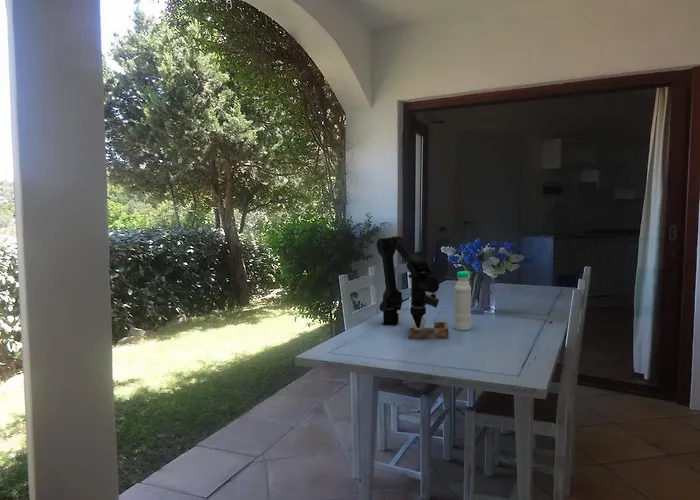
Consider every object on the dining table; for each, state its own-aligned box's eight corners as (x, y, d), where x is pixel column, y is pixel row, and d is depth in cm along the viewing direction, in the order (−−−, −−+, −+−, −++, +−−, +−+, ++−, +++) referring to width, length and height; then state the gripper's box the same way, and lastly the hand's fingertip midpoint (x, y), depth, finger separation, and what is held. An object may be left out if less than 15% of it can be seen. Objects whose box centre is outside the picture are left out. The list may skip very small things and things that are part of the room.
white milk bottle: (471, 327, 216) (471, 270, 213) (470, 331, 209) (470, 273, 207) (455, 326, 218) (455, 270, 215) (453, 330, 211) (453, 272, 209)
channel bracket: (408, 338, 200) (408, 329, 200) (409, 329, 214) (409, 321, 213) (448, 339, 198) (448, 329, 197) (446, 330, 211) (446, 321, 211)
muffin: (422, 332, 202) (422, 315, 201) (408, 330, 205) (408, 313, 205) (428, 328, 207) (428, 312, 207) (414, 326, 211) (414, 310, 210)
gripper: (438, 293, 194) (438, 332, 196) (437, 285, 213) (437, 320, 214) (410, 293, 196) (410, 331, 197) (411, 285, 214) (411, 320, 216)
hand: (418, 325), depth 206 cm, fingers closed on muffin, 6 cm apart
